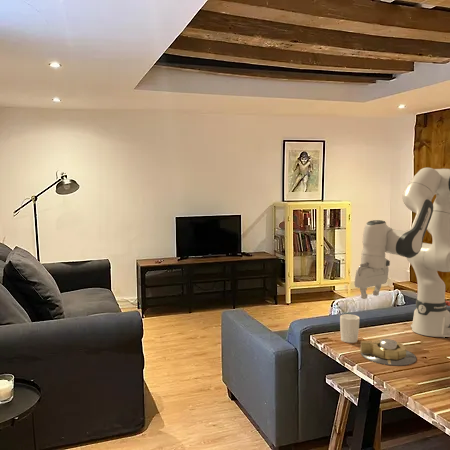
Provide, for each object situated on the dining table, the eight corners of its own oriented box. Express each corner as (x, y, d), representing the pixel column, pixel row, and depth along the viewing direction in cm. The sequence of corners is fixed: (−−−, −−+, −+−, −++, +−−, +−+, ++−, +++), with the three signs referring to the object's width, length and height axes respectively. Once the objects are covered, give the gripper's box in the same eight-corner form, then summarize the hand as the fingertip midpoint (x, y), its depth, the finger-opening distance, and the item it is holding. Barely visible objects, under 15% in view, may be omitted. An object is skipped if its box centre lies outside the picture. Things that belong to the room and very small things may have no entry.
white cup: (359, 344, 189) (360, 320, 188) (339, 342, 190) (340, 318, 189) (358, 337, 196) (358, 314, 195) (338, 336, 198) (339, 313, 197)
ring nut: (401, 348, 181) (401, 338, 181) (408, 360, 169) (408, 349, 169) (358, 346, 183) (359, 336, 183) (363, 357, 172) (363, 347, 171)
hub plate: (384, 343, 190) (385, 330, 189) (428, 359, 173) (428, 345, 172) (349, 352, 179) (349, 338, 179) (391, 369, 162) (392, 354, 162)
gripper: (367, 265, 170) (364, 302, 171) (392, 261, 185) (389, 295, 186) (351, 262, 175) (349, 298, 176) (377, 259, 189) (374, 292, 190)
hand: (370, 296), depth 181 cm, fingers open, 8 cm apart
